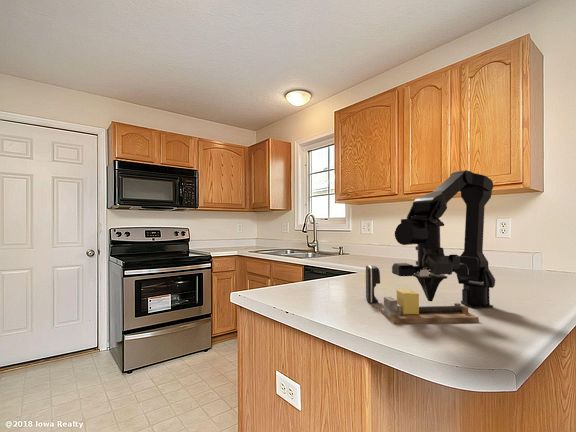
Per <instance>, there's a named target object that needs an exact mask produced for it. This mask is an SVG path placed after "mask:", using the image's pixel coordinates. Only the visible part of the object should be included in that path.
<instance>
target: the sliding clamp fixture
mask: <svg viewBox="0 0 576 432" xmlns="http://www.w3.org/2000/svg"><path fill="white" fill-rule="evenodd" d="M461 304H462V303H459V302H454V304H453V305H439V306H438V305H434V306H433V305H432V306H431V305H429V306H428V305H425V306H424V305H423V306H422V305H421V306H420V305H419V314H403V313H402V306H400V305H399V304H397V299H395V298H394V297H392V296H384V297H383V307H381V308H380V314H382V316H384V317H386V319H388V320H389V321H390V322H391V323H393V324H429V323H430V324H431V323H432V324H437V323H442V324H443V323H479V320H480V319H479V316H477V315H475V314H472V313H470V312H469V306H468V305H461Z"/></svg>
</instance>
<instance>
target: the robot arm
mask: <svg viewBox="0 0 576 432" xmlns="http://www.w3.org/2000/svg"><path fill="white" fill-rule="evenodd" d="M493 190H494V182H493V180H492V179H491V178H489V177H488V175H484V174H479V173H476V172H475V173H474V172H473V171H471V170H468V169H467V170H459V171H453V172H452V173H451V174H450V176H449V177H448V178H446V180H445V179H444V181H443V182H442V183H441V184H440V185H438V186H437V187H436V188H435V189H434V190H433V191H431V192H430V193H426V194H423V195H420V196H419V197H417V198H415V199H414V200H413V203H412V205H411V207H410V210H409V212H408V213H407V215H406V218H401V219H400V223H399V224H398V225H397V226H396V227H395V231H394V238H395V240H396V242H397V243H398V244H399V245H403V246H409V245H415V250H416V251H417V261H415V265H413V264H411V263H406V262H398V263H397V262H395V263H393V264H392V266H391V273H392V274H393V275H395V276H398V277H415V278H416V279H417V281H418V283H419V285H420V286H421V288H422V291H423V293H424V295H425V298H426V299H427V301H428V302H433V301H434V298H435V295H436V292H437V290H438V287H439V285H440V284H441V282H443V281H444V280H445V279H448V276H446V275H449V276H451V275H452V274H453V273H454V274H455V275H456V278H457V282H458V284H460V285H461V284H462V285H463V286H462V287H463V288H462V289H461V292H462V293H461V295H462V296H461V299H462V300H460V304H463V305H464V306H467V307H470V308H473V309H474V308H477V309H478V308H494V305H492V304H490V303H491V302H490V288H491V289H493V288H494V287H495V285H496V279H495V277H494V275H493V274H492V271H491V270H490V269H489V261H488V259H487V258H486V256H485V254H484V251H483V250H484V224H485V206H486V205H487V203H488V202H490V201H489V200H490V199H491V197H492V192H493ZM459 192H460V197H461V199H462V201H463V202H464V203H465V223H464V225H465V227H464V244H463V245H464V246H463V247H464V248H463V251H462V253H461V255H458V254H449V255H445V252H444V248H443V247H441V227H444V226H445V224H444V222H443V221H442V220H440V218H441V217H442V216H443V215H444V214H445V212H446V211H447V209H448V203H449V201H451V200H452V199H453V198H454V197H455V196H456V195H457V194H458V193H459ZM416 245H417V246H416Z"/></svg>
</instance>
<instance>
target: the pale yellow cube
mask: <svg viewBox="0 0 576 432" xmlns="http://www.w3.org/2000/svg"><path fill="white" fill-rule="evenodd" d="M419 294H420V293H418V292H416V291H414V290H412V289H396V300H397V304H399V305H400V306H402V313H403V314H419V306H420V295H419Z"/></svg>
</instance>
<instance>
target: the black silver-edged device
mask: <svg viewBox="0 0 576 432" xmlns="http://www.w3.org/2000/svg"><path fill="white" fill-rule="evenodd" d="M378 284H381V272H380V269H379V267H377V266H376V265H369V264H368V265H366V266H365V299H366V300H367V303H370V304H375V303H376V304H377V303H378V304H379V300H378V298H377V297H376V296H375V287H377V285H378Z"/></svg>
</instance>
